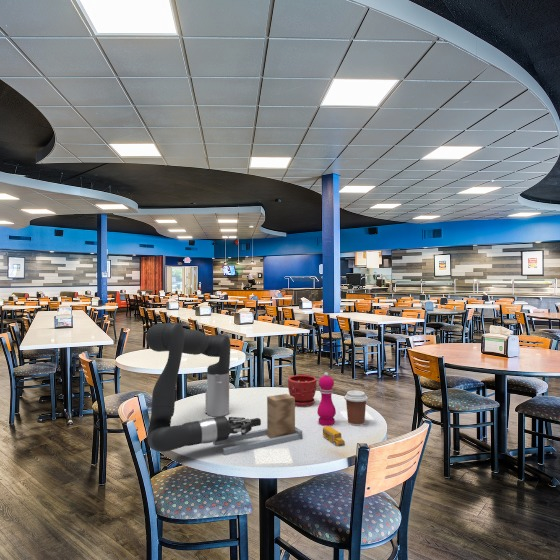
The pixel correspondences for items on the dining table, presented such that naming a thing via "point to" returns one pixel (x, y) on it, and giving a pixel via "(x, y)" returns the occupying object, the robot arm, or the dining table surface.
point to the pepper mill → (326, 401)
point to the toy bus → (333, 436)
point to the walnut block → (280, 415)
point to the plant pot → (302, 389)
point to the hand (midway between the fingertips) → (259, 421)
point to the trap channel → (258, 443)
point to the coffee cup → (356, 407)
